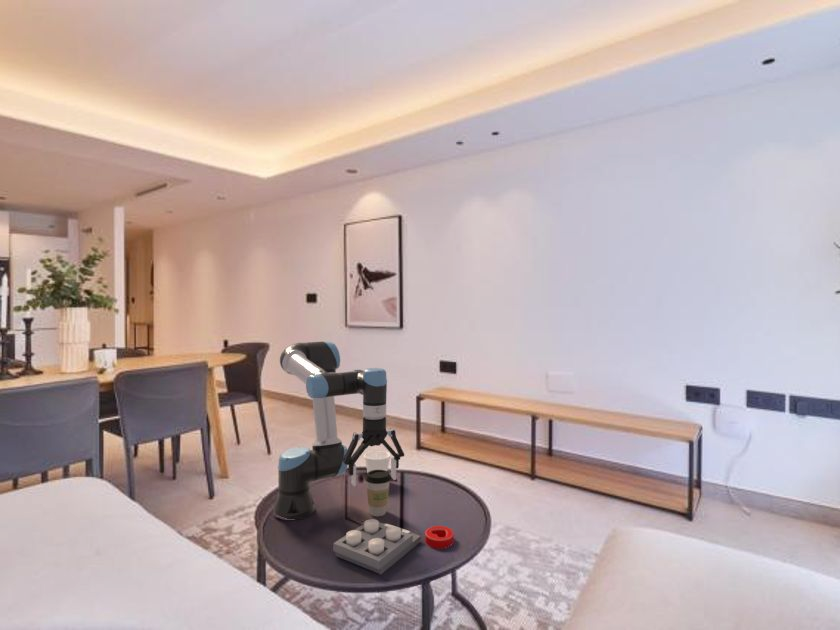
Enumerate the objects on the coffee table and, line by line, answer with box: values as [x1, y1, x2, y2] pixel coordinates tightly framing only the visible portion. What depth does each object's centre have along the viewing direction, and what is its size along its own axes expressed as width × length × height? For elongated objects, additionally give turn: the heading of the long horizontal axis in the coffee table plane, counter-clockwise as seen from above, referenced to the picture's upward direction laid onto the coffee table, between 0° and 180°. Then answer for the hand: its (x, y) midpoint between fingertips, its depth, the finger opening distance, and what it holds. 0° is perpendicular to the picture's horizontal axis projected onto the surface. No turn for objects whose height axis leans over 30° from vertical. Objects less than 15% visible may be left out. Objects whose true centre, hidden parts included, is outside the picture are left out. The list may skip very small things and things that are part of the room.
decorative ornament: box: [424, 525, 455, 550], centre depth 154 cm, size 10×10×3 cm
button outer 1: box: [368, 538, 384, 556], centre depth 140 cm, size 5×5×3 cm
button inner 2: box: [363, 518, 380, 535], centre depth 153 cm, size 5×5×3 cm
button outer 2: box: [386, 525, 401, 543], centre depth 148 cm, size 5×5×3 cm
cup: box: [363, 450, 392, 473], centre depth 204 cm, size 12×12×12 cm
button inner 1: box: [345, 529, 361, 547], centre depth 145 cm, size 5×5×3 cm
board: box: [332, 521, 422, 575], centre depth 149 cm, size 18×23×4 cm
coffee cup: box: [364, 470, 392, 517], centre depth 175 cm, size 10×10×15 cm
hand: (373, 481), depth 149 cm, fingers open, 13 cm apart
